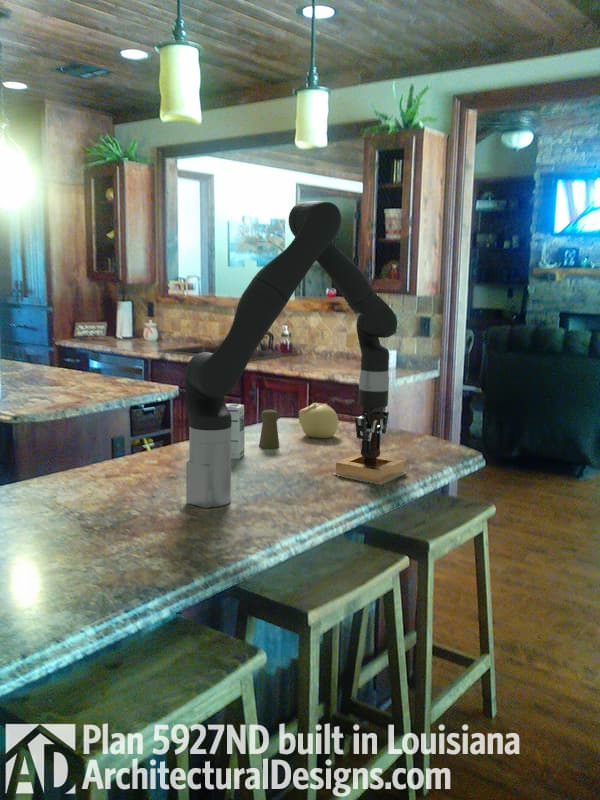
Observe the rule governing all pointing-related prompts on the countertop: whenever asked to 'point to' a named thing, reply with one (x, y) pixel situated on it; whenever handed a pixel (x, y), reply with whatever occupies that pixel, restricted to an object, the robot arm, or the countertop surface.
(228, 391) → the robot arm
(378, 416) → the bolt
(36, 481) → the countertop surface
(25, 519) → the countertop surface
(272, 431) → the cork
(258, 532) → the countertop surface
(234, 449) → the syrup box
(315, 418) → the sculpture
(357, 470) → the receiver
